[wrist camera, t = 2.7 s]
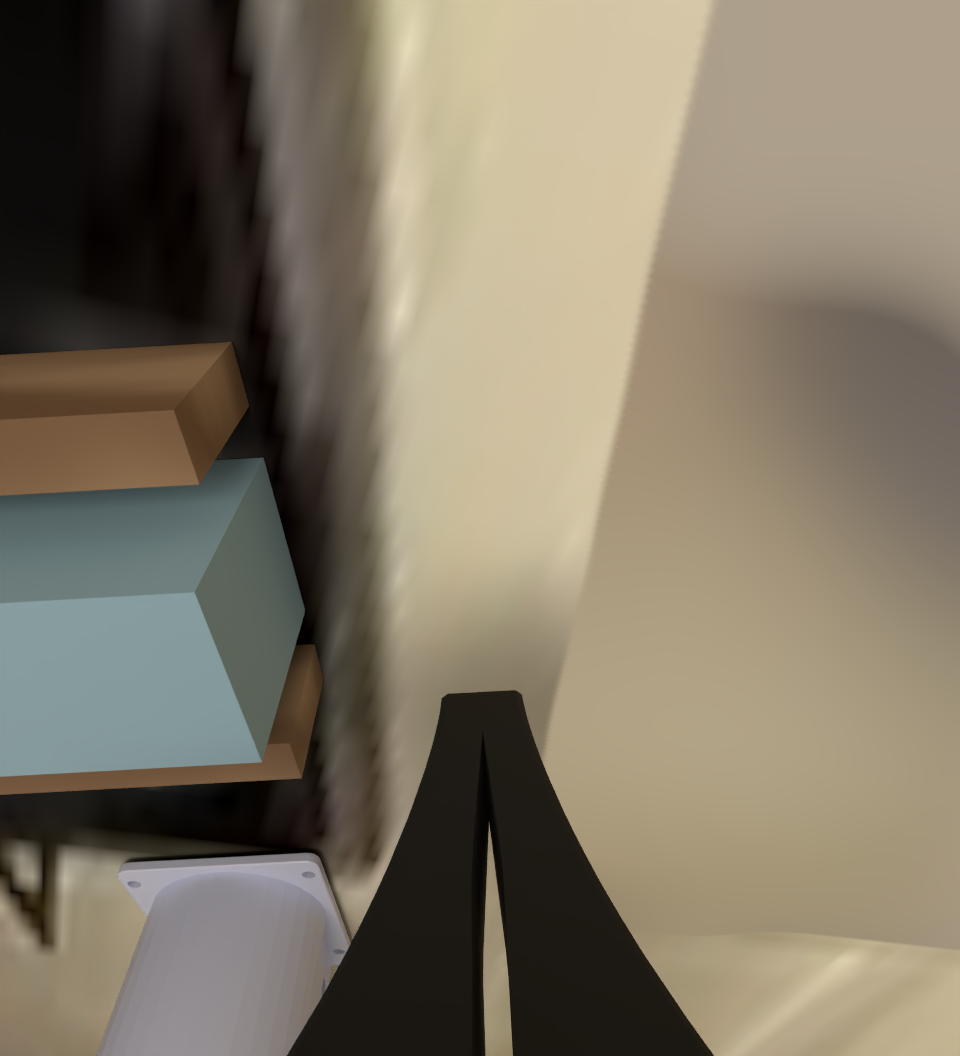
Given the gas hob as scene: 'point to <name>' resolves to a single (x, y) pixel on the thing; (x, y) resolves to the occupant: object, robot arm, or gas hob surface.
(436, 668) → the gas hob surface
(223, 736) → the block
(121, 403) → the chute
